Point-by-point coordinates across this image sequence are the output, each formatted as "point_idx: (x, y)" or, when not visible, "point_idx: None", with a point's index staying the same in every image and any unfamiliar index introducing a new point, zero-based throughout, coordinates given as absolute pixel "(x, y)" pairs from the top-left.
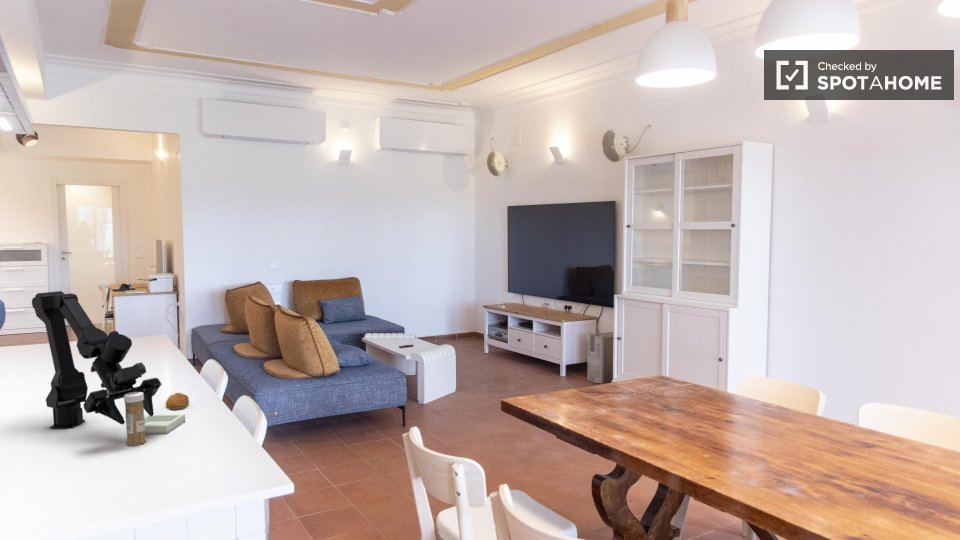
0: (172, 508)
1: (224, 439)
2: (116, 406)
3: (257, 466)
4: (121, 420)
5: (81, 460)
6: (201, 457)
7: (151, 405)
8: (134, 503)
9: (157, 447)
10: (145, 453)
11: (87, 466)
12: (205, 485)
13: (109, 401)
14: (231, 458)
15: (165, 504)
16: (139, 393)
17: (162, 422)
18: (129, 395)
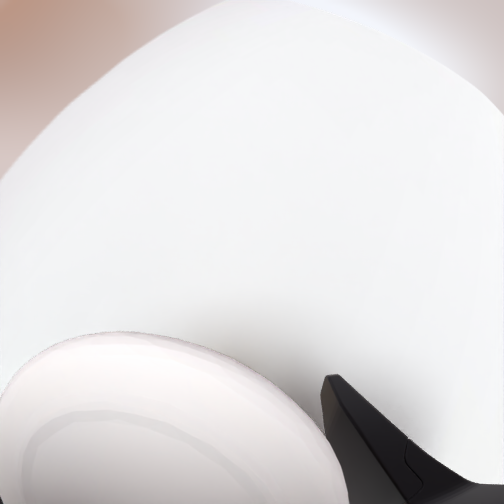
0: (376, 30)
1: (73, 140)
2: (398, 489)
3: (210, 17)
4: (350, 387)
5: (443, 383)
6: (216, 83)
7: None
8: (411, 63)
9: (207, 261)
10: (279, 240)
11: (452, 300)
12: (311, 26)
13: (501, 492)
14: (193, 49)
15: (379, 37)
16: (62, 402)
17: None
18: (301, 481)
